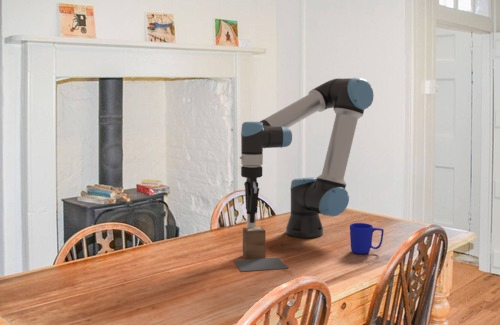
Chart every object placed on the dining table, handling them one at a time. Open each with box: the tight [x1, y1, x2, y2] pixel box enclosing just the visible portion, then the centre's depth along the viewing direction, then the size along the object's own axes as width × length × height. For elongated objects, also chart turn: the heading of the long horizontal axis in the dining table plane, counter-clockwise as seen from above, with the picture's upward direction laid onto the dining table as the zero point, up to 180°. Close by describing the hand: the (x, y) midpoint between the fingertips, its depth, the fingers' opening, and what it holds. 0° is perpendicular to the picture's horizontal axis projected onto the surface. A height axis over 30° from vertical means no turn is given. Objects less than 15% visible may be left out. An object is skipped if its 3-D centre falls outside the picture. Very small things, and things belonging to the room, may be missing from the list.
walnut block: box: [242, 226, 266, 260], centre depth 203 cm, size 5×7×10 cm
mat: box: [233, 256, 289, 273], centre depth 195 cm, size 12×16×1 cm
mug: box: [349, 222, 384, 255], centre depth 209 cm, size 8×12×10 cm
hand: (251, 230), depth 206 cm, fingers closed
